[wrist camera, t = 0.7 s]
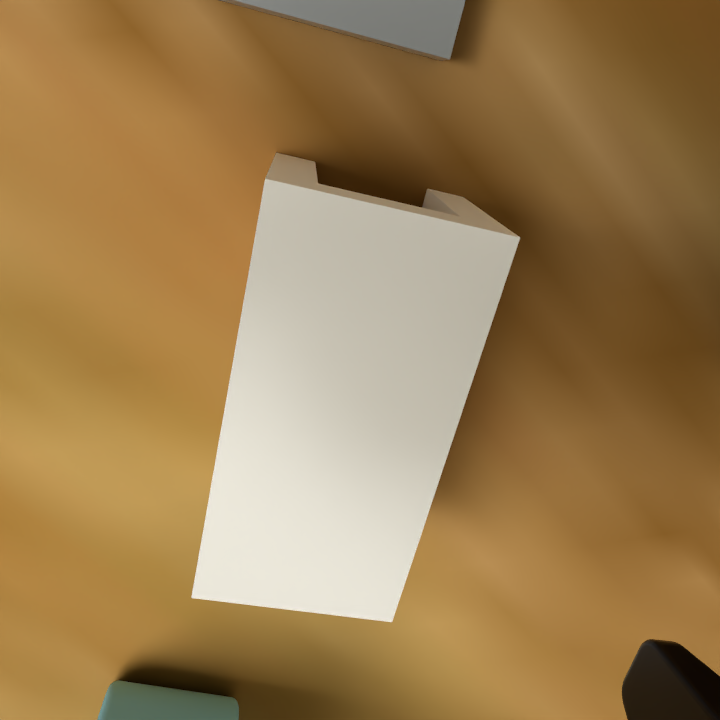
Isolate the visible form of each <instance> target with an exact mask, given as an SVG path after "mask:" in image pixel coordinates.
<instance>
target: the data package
mask: <svg viewBox="0 0 720 720" xmlns="http://www.w3.org/2000/svg"><path fill="white" fill-rule="evenodd" d="M97 720H239V706H238V702H237V700H236V699H234V698H233V697H227V696H220V695H213V694H207V693H200V692H193V691H186V690H180V689H173V688H166V687H159V686H153V685H146V684H139V683H132V682H126V681H115V682H113V683H112V684H111V685H110V686H109V688H108V690H107V693H106V695H105V698H104V701H103V704H102V707H101V710H100V713H99V716H98V719H97Z"/></svg>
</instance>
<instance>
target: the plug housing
mask: <svg viewBox="0 0 720 720" xmlns="http://www.w3.org/2000/svg"><path fill="white" fill-rule="evenodd" d="M519 240H520V237H519V236H517V235H516V234H515V233H513V232H512V231H510V230H509V229H508V228H506V227H505V226H503V225H502V224H501V223H499V222H498V221H496V220H495V219H493V218H492V217H491V216H489V215H488V214H486V213H485V212H484V211H482V210H481V209H479V208H478V207H477V206H475V205H474V204H472V203H471V202H470V201H468V200H467V199H465V198H464V197H461V196H457V195H453V194H449V193H444V192H440V191H436V190H432V189H428V188H427V191H426V195H425V198H424V202H423V206H422V208H421V207H417V206H413V205H409V204H404V203H400V202H396V201H391V200H387V199H383V198H378V197H374V196H370V195H365V194H361V193H357V192H353V191H348V190H344V189H340V188H335V187H331V186H327V185H322V184H318V179H317V172H316V164H315V162H314V161H310V160H306V159H302V158H297V157H293V156H289V155H285V154H280V153H276V154H275V157H274V159H273V162H272V164H271V166H270V169H269V171H268V174H267V176H266V178H265V183H264V189H263V195H262V200H261V206H260V212H259V217H258V223H257V229H256V234H255V240H254V246H253V251H252V257H251V263H250V268H249V274H248V280H247V286H246V291H245V297H244V303H243V308H242V314H241V320H240V325H239V331H238V337H237V342H236V348H235V354H234V359H233V365H232V371H231V376H230V382H229V388H228V393H227V399H226V405H225V410H224V416H223V422H222V427H221V433H220V439H219V444H218V450H217V456H216V461H215V467H214V473H213V478H212V484H211V490H210V495H209V501H208V507H207V512H206V518H205V524H204V530H203V535H202V541H201V547H200V552H199V558H198V564H197V569H196V575H195V581H194V586H193V592H192V598H197V599H205V600H213V601H221V602H230V603H238V604H246V605H255V606H263V607H271V608H279V609H288V610H296V611H304V612H313V613H321V614H329V615H337V616H346V617H354V618H362V619H370V620H379V621H387V622H392V620H393V617H394V614H395V611H396V608H397V605H398V602H399V599H400V596H401V593H402V591H403V588H404V585H405V582H406V579H407V576H408V573H409V570H410V567H411V564H412V561H413V558H414V555H415V552H416V549H417V546H418V543H419V540H420V537H421V534H422V531H423V528H424V525H425V522H426V519H427V516H428V513H429V510H430V507H431V504H432V501H433V498H434V495H435V492H436V489H437V486H438V483H439V480H440V477H441V474H442V471H443V468H444V465H445V462H446V459H447V456H448V453H449V450H450V447H451V444H452V441H453V438H454V435H455V432H456V429H457V426H458V423H459V420H460V417H461V414H462V411H463V408H464V405H465V402H466V399H467V396H468V393H469V390H470V387H471V384H472V381H473V378H474V375H475V372H476V369H477V366H478V363H479V360H480V357H481V354H482V351H483V348H484V345H485V342H486V339H487V336H488V333H489V330H490V327H491V324H492V321H493V318H494V315H495V312H496V309H497V306H498V303H499V300H500V297H501V294H502V291H503V288H504V285H505V282H506V279H507V276H508V273H509V270H510V267H511V264H512V261H513V258H514V255H515V252H516V249H517V246H518V243H519Z"/></svg>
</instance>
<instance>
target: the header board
mask: <svg viewBox="0 0 720 720" xmlns="http://www.w3.org/2000/svg"><path fill="white" fill-rule="evenodd" d="M220 1H224V2H228V3H231V4H235V5H239V6H242V7H246V8H249V9H253V10H257V11H260V12H264V13H268V14H271V15H275V16H279V17H282V18H286V19H290V20H293V21H297V22H301V23H304V24H308V25H312V26H315V27H319V28H323V29H326V30H330V31H334V32H337V33H341V34H345V35H348V36H352V37H356V38H359V39H363V40H367V41H370V42H374V43H378V44H381V45H385V46H389V47H392V48H396V49H400V50H403V51H407V52H411V53H414V54H418V55H422V56H425V57H429V58H433V59H436V60H440V61H444V60H449V59H450V57H451V53H452V49H453V46H454V42H455V38H456V34H457V31H458V27H459V23H460V19H461V15H462V12H463V8H464V4H465V0H220Z"/></svg>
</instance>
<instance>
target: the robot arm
mask: <svg viewBox="0 0 720 720" xmlns="http://www.w3.org/2000/svg"><path fill="white" fill-rule="evenodd" d="M622 699H623V704H624V708H625V712H626V715H627V719H628V720H720V676H719V675H717V674H716V673H715V672H714V671H712V670H711V669H710V668H709V667H707V666H706V665H705V664H704V663H703V662H701V661H700V660H699V659H698V658H696V657H695V656H694V655H693V654H692V653H690V652H689V651H688V650H687V649H685V648H684V647H683V646H681V645H680V644H678V643H676V642H672V641H663V640H654V639H650V640H646V641H645V642H644V643H642V645H641V646H640V648H639V650H638V652H637V654H636V656H635V658H634V660H633V662H632V664H631V667H630V669H629V671H628V673H627V675H626V677H625V679H624V681H623V686H622Z"/></svg>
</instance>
